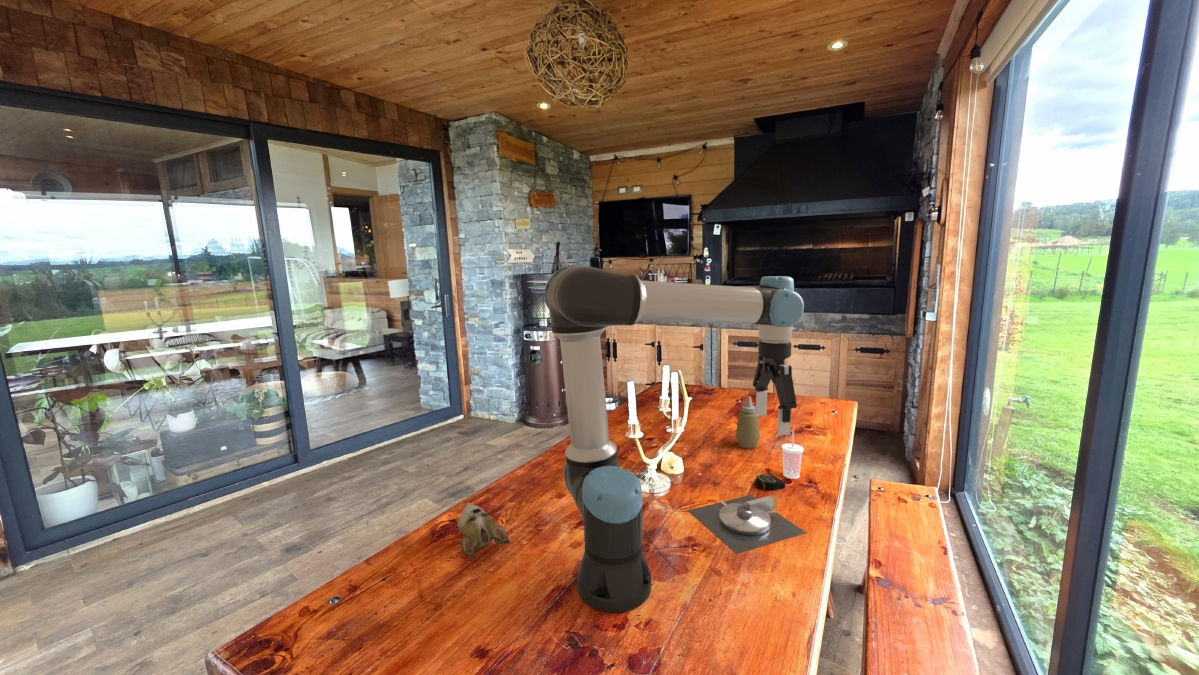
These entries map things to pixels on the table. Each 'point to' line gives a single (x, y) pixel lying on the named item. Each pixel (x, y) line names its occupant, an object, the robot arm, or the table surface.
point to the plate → (741, 542)
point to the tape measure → (769, 482)
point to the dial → (748, 515)
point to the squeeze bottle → (748, 426)
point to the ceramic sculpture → (478, 530)
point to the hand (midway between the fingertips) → (771, 424)
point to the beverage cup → (792, 459)
